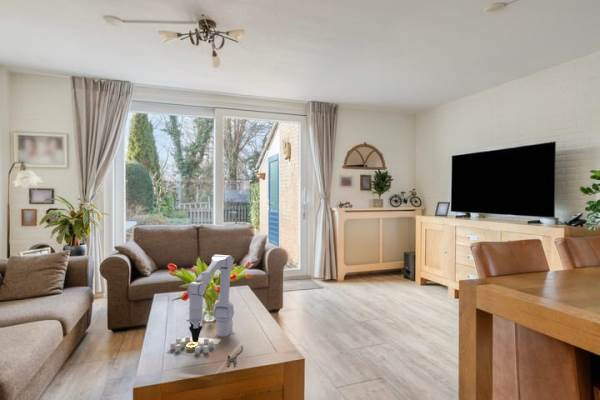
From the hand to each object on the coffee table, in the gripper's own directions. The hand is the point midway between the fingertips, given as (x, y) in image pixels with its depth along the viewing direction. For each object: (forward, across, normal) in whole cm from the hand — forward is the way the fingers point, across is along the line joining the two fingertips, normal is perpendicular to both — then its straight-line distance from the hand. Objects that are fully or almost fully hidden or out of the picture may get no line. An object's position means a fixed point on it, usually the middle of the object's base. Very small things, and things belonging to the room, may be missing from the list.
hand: (195, 338), depth 148 cm
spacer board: (+10, -12, 0) cm, 16 cm away
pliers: (+10, +1, +18) cm, 21 cm away
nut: (+9, -10, -1) cm, 13 cm away
